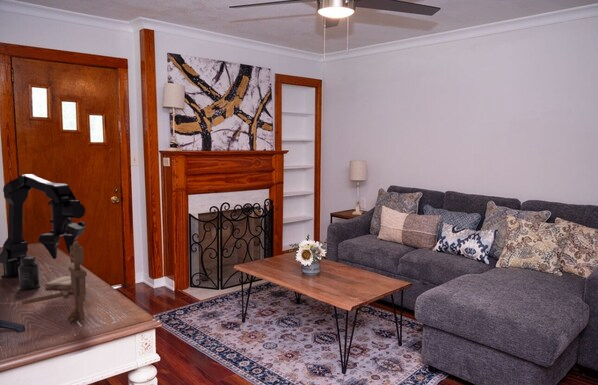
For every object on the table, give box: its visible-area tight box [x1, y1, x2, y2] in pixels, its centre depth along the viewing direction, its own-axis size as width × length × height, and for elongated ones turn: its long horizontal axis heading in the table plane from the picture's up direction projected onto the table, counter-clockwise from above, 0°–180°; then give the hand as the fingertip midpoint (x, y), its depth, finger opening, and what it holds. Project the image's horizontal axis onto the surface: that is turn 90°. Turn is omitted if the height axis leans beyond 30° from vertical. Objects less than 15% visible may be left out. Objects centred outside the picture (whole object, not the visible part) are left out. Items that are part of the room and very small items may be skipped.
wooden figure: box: [21, 240, 88, 328], centre depth 133 cm, size 14×18×25 cm
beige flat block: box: [44, 275, 86, 291], centre depth 172 cm, size 10×10×3 cm
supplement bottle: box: [18, 255, 41, 291], centre depth 168 cm, size 7×7×12 cm
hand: (62, 255), depth 171 cm, fingers open, 9 cm apart
